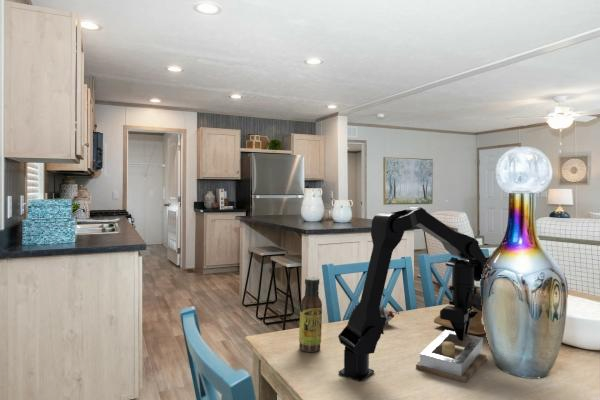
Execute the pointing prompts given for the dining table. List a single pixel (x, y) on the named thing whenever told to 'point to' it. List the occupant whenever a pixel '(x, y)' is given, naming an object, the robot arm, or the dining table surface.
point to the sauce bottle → (310, 317)
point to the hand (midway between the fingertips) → (462, 339)
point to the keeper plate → (453, 352)
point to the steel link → (449, 365)
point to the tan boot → (475, 323)
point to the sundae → (386, 313)
